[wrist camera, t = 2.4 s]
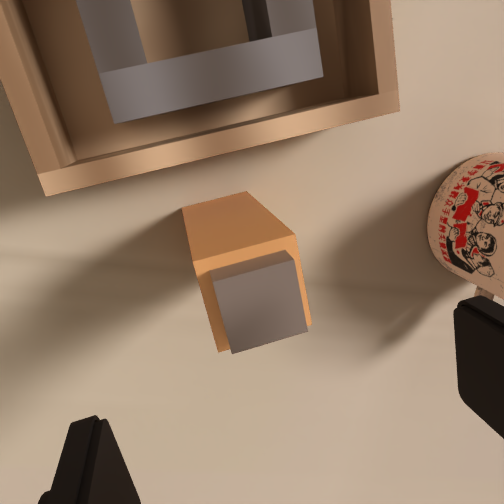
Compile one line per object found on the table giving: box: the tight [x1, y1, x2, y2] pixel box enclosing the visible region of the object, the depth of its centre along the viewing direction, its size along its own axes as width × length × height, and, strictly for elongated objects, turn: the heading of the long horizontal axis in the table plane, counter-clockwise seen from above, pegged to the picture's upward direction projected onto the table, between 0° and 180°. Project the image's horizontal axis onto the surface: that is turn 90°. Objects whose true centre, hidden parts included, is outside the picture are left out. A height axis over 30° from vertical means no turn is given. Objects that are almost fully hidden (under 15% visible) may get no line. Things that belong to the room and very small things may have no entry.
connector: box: [182, 191, 312, 354], centre depth 21 cm, size 4×4×11 cm
